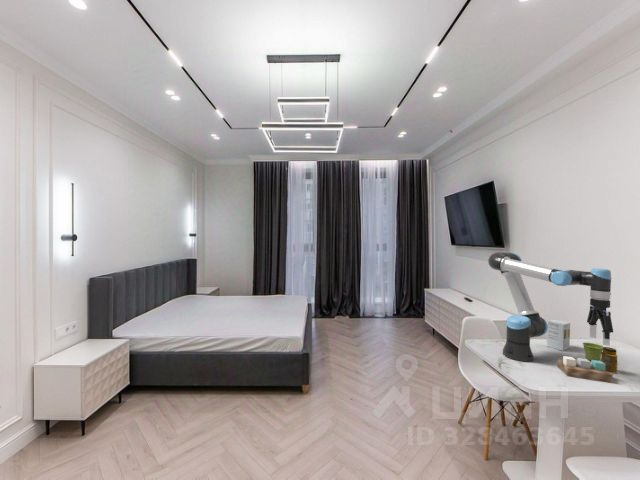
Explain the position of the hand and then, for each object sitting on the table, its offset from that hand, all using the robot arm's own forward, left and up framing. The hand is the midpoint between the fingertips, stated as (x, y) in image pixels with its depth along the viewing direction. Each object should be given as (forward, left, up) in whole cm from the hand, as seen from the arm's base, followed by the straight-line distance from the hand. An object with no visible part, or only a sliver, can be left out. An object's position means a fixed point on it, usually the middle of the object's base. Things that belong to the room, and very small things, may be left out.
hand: (598, 341), depth 150 cm
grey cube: (-6, 0, -15) cm, 16 cm away
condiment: (+9, +11, -18) cm, 23 cm away
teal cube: (0, 0, -15) cm, 15 cm away
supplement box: (-2, +43, -18) cm, 47 cm away
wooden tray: (-6, 0, -18) cm, 19 cm away
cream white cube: (-12, 0, -15) cm, 19 cm away
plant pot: (+9, +26, -18) cm, 33 cm away
